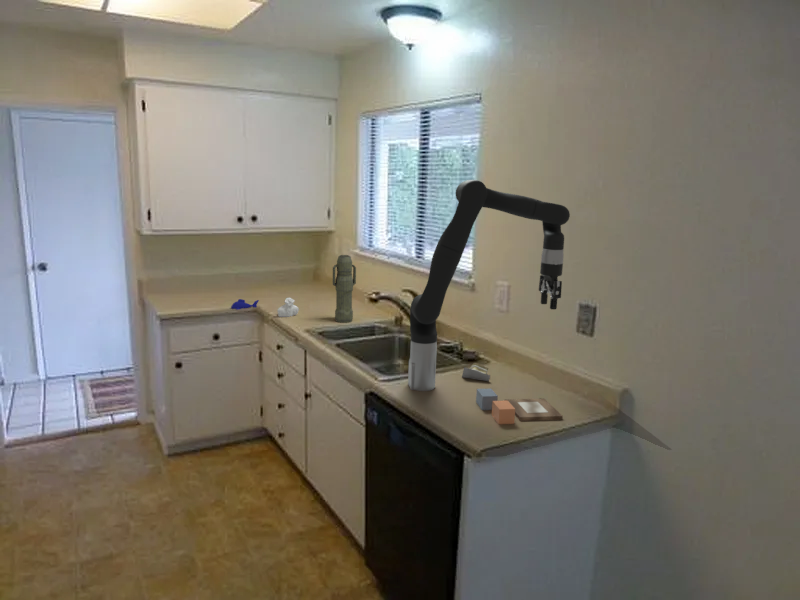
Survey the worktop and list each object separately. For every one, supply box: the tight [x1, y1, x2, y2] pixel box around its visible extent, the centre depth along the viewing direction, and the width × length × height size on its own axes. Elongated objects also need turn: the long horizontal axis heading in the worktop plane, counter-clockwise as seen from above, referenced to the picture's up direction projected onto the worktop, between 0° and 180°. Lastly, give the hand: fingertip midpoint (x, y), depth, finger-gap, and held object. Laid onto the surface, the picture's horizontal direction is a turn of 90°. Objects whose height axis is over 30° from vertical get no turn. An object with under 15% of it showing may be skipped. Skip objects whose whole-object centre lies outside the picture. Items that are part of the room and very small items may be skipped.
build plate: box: [503, 398, 564, 422], centre depth 187 cm, size 14×15×1 cm
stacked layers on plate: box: [461, 362, 491, 382], centre depth 217 cm, size 10×9×6 cm
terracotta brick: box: [491, 400, 516, 425], centre depth 179 cm, size 5×7×5 cm
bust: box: [277, 297, 300, 318], centre depth 303 cm, size 12×8×11 cm, turn 125°
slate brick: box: [475, 388, 499, 411], centre depth 189 cm, size 5×7×5 cm
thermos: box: [332, 254, 357, 324], centre depth 292 cm, size 9×12×35 cm
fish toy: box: [230, 298, 260, 311], centre depth 316 cm, size 15×8×7 cm, turn 115°
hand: (548, 306), depth 206 cm, fingers open, 8 cm apart
